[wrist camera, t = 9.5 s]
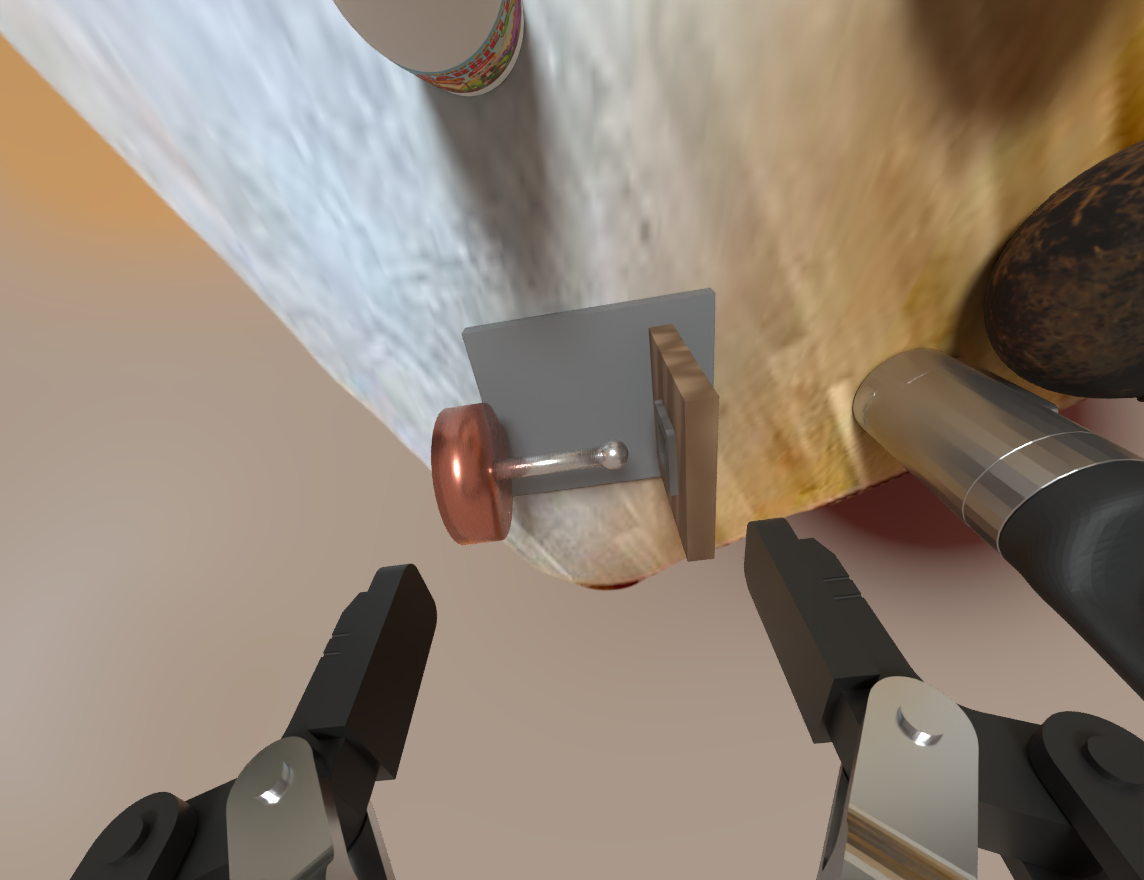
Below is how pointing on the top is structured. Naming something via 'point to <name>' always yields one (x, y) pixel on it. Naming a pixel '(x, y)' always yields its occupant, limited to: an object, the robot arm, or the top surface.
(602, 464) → the copper disc with rod
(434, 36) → the milk bottle
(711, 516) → the brown wooden panel
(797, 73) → the top surface
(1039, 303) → the dark bulbous vase
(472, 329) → the base board
